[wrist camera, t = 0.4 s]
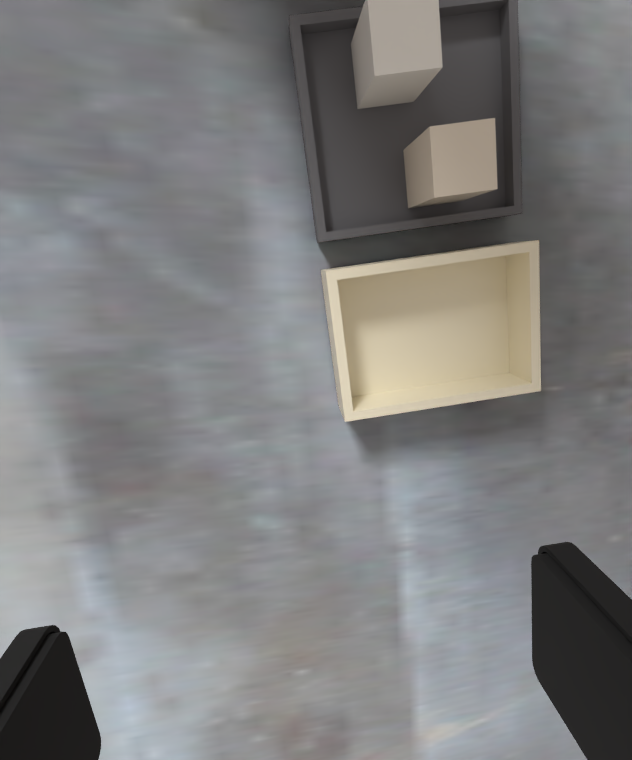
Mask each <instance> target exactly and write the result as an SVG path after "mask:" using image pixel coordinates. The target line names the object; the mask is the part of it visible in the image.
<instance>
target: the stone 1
mask: <svg viewBox="0 0 632 760" xmlns="http://www.w3.org/2000/svg"><path fill="white" fill-rule="evenodd" d="M351 50H352V60H353V70H354V80H355V89H356V99H357V109H362V108H370V107H378V106H385V105H393V104H401V103H408V102H414V101H415V99H416V98H417V97H418V96H419V95H420V94H421V92H422V91H423V90H424V89H425V88H426V86H427V85H428V84H429V83H430V82H431V81H432V79H433V78H434V77H435V76H436V75H437V73H438V72H439V71H440V70H441V69H442V67H443V65H442V48H441V31H440V14H439V0H365V2H364V5H363V8H362V11H361V14H360V17H359V20H358V23H357V27H356V30H355V33H354V36H353V39H352V42H351Z"/></svg>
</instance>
